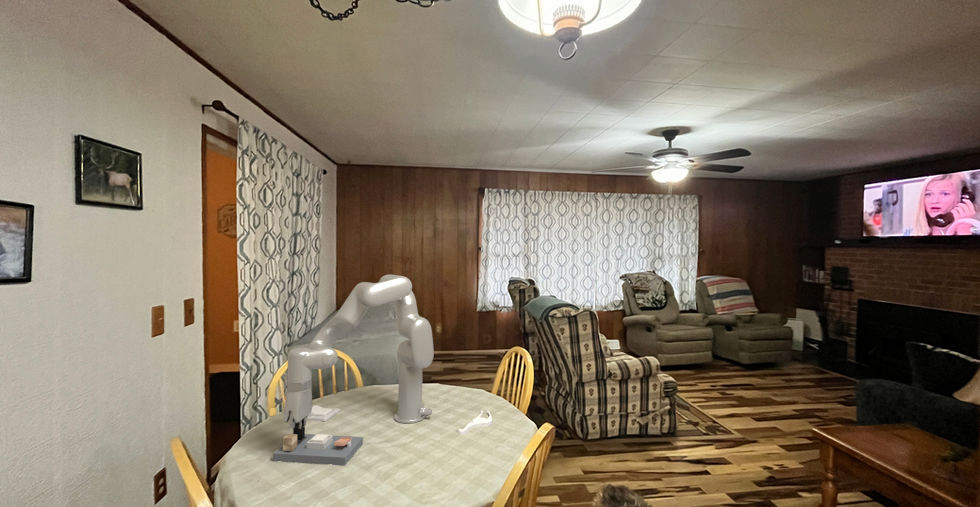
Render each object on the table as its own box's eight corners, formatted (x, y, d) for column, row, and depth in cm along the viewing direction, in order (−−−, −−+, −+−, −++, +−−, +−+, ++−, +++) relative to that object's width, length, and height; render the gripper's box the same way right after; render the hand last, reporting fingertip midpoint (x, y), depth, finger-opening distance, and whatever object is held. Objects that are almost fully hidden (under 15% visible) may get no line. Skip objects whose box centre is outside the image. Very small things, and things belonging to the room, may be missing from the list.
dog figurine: (463, 409, 167) (454, 430, 147) (494, 410, 166) (489, 432, 146) (463, 413, 167) (454, 435, 147) (494, 415, 166) (489, 437, 146)
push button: (328, 441, 134) (328, 434, 134) (322, 447, 130) (322, 440, 130) (317, 441, 135) (317, 434, 135) (311, 446, 131) (311, 439, 131)
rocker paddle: (351, 442, 134) (351, 436, 135) (343, 447, 129) (344, 441, 129) (342, 442, 135) (342, 436, 135) (334, 446, 129) (334, 440, 129)
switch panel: (362, 444, 138) (363, 431, 138) (344, 465, 124) (345, 451, 124) (297, 440, 140) (297, 427, 140) (272, 461, 126) (272, 447, 126)
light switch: (313, 401, 169) (340, 402, 167) (313, 411, 169) (340, 412, 167) (296, 411, 159) (324, 412, 156) (296, 422, 159) (325, 423, 156)
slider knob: (297, 446, 130) (297, 434, 130) (291, 450, 127) (292, 438, 127) (288, 445, 131) (288, 433, 131) (283, 450, 128) (283, 438, 128)
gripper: (301, 377, 142) (300, 428, 142) (275, 392, 127) (274, 449, 127) (321, 378, 141) (320, 429, 141) (297, 393, 126) (297, 450, 126)
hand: (298, 439), depth 134 cm, fingers closed
